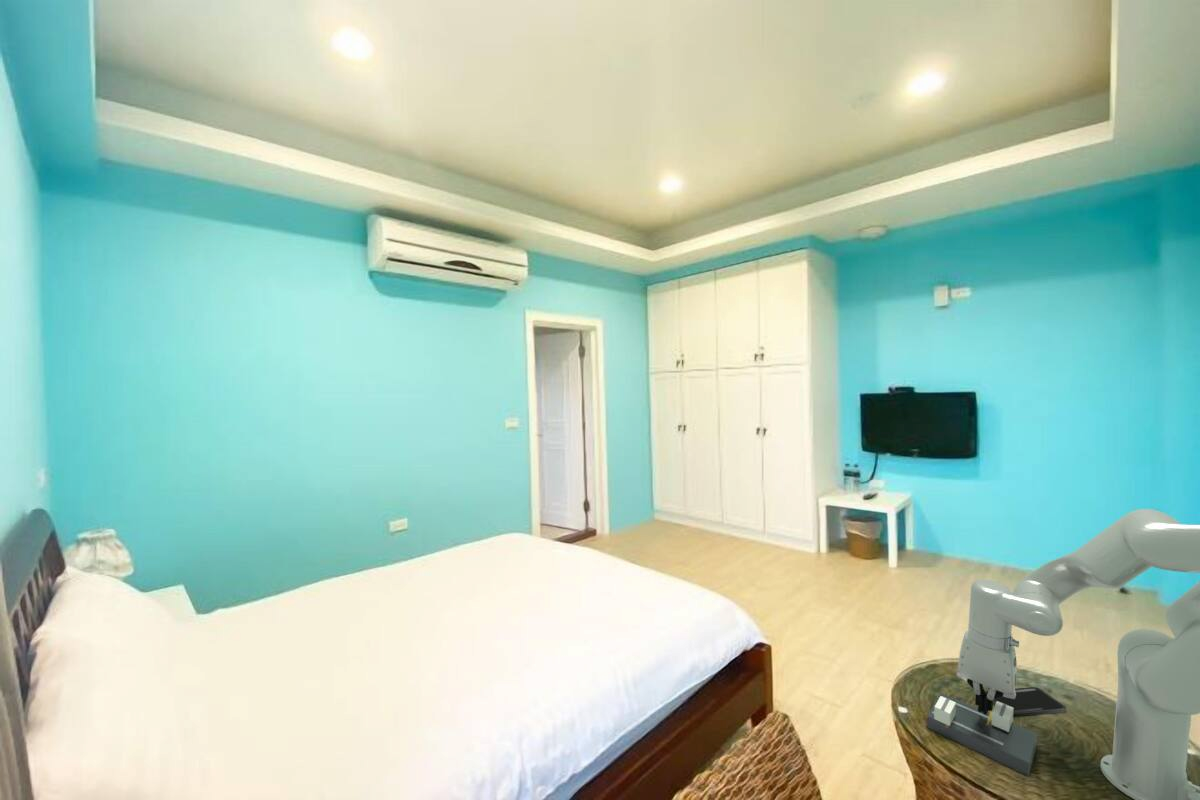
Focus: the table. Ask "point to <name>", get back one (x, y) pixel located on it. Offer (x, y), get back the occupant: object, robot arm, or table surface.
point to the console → (987, 736)
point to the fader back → (1002, 716)
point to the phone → (1031, 702)
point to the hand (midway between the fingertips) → (983, 710)
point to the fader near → (945, 710)
